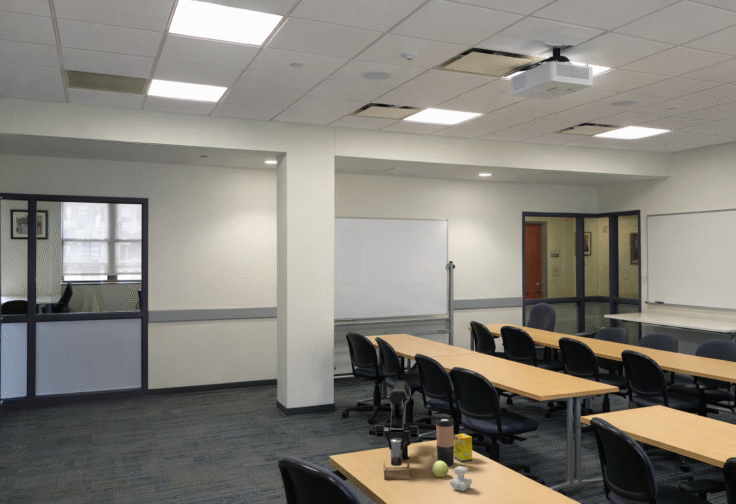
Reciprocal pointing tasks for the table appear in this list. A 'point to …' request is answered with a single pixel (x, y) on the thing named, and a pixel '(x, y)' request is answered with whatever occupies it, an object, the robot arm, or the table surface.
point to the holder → (397, 472)
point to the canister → (396, 451)
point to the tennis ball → (440, 469)
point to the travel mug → (445, 440)
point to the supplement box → (463, 447)
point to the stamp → (460, 479)
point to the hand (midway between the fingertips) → (396, 449)
